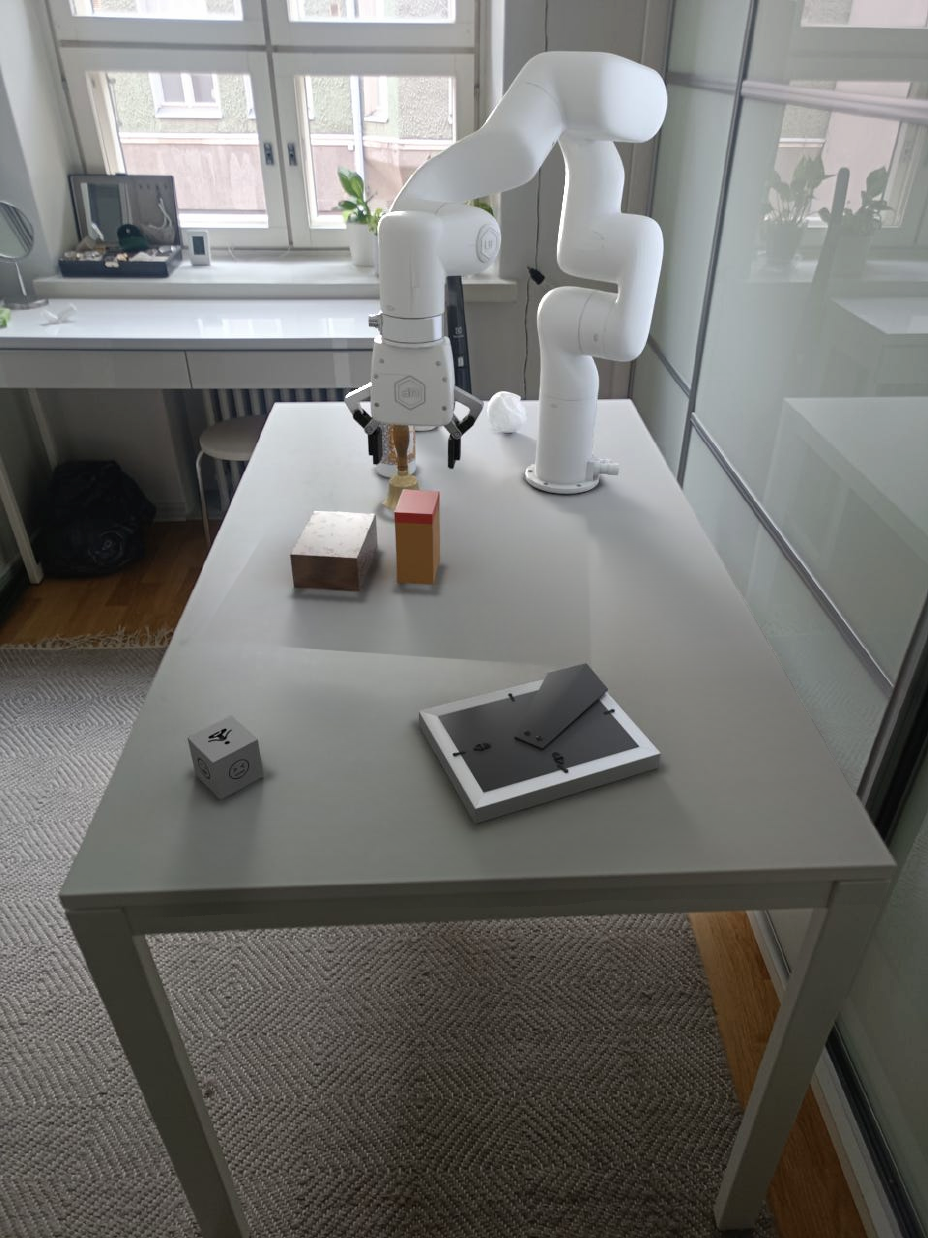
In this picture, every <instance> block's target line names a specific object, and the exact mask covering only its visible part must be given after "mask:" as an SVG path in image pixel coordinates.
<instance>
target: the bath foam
mask: <svg viewBox="0 0 928 1238" xmlns="http://www.w3.org/2000/svg"><path fill="white" fill-rule="evenodd" d="M393 426H394V425H393V424H383V423H381V424H380V425H379V427H381V429H382V444H383V457H382V459H381V461H380V463H379V464H378V465H375V469H376V472H377V473H378V474H379V475H380V476H382V477H386V478H390V479H391V477H393V476H395V475H397V471H398V469H397V466H398V465H397V451H396V448H395V445H394V441H393ZM408 427H409V432H410V440H409V446H408V450H407V461H408V473H409V474H410V475H413V474H414V473H415V472H416V468H417V462H416V461H417V456H416V455H417V453H416V430H415V426H410V425H408Z"/></svg>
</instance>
